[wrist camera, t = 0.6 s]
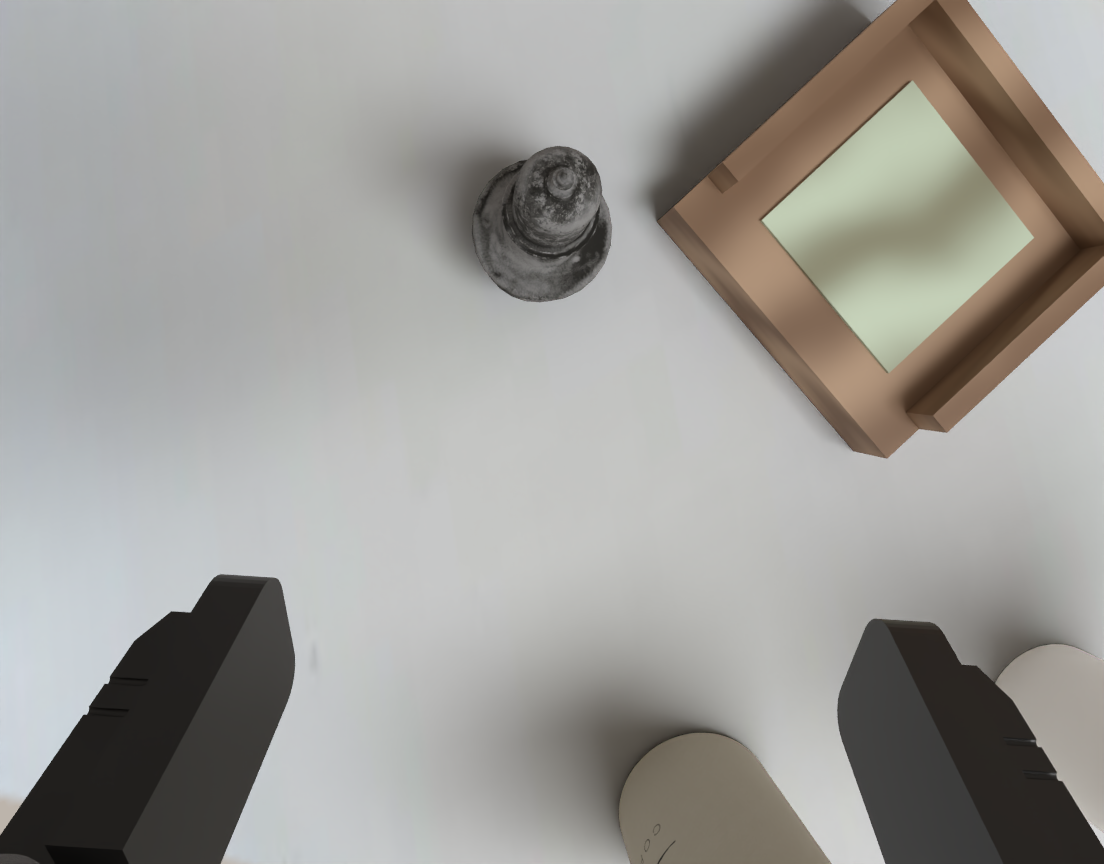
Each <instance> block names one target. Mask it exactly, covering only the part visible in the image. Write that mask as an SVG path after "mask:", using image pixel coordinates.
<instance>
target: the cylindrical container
mask: <svg viewBox="0 0 1104 864" xmlns="http://www.w3.org/2000/svg"><path fill="white" fill-rule="evenodd" d="M995 684H996V685H997V686H998V687H999V688H1000V689H1001V690H1002V691H1003V692H1005V693H1006V694H1007V695H1008V696H1009V697H1010V698H1011V699H1012V700H1013V702H1014V703H1015V705H1016V706H1017V708H1018V710H1019V711H1020V713H1021V715H1022V716H1023V718H1024V719H1025V721H1026V723H1027V724H1028V726H1029V728H1030V729H1031V731H1032V732H1033V734H1034V736H1035V737H1036V739H1037V740H1036V744H1037V746H1038V747H1042V749H1043V750H1044V752H1045V754H1046V755H1047V757H1048V758H1049V760H1050V762H1051V763H1052V765H1053V767H1054V768H1055V770H1056V771H1057V774H1056V776H1057V779H1058V780H1059V781H1063V783H1064V784H1065V786H1066V788H1067V789H1068V791H1069V793H1070V794H1071V796H1072V797H1073V799H1074V801H1075V802H1076V804H1077V806H1078V807H1079V809H1080V810H1081V812H1082V814H1083V815H1084V817H1085V819H1086V820H1087V821H1088V822H1090V823H1091V824H1092V825H1094V826H1095V827H1096V828H1098V829H1099V830H1100V831H1102V832H1103V833H1104V660H1102V659H1100V658H1097V657H1095V656H1093V655H1091V654H1089V653H1087V652H1085V651H1083V650H1080V649H1078V648H1076V647H1073V646H1069V645H1065V644H1050V645H1044V646H1039V647H1036V648H1034V649H1031V650H1028V651H1026V652H1025V653H1023V654H1022V655H1020V656H1018V657H1017V658H1015V659H1014V660H1013V661H1012V662H1011V663H1010V664H1009V665H1008V666H1007V667H1006V668H1005V669H1004V670H1003V672H1002V673H1001V674H1000V676H999V677H998V678H997V680H996V682H995Z"/></svg>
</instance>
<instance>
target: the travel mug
mask: <svg viewBox="0 0 1104 864" xmlns="http://www.w3.org/2000/svg"><path fill="white" fill-rule="evenodd" d="M619 823H620V828H621V833H622V836H623V840H624V843H625V846H626V850H627V853H628V856H629V860H630V863H631V864H831V862H830V861H829V860H828V858H827V857H826V855H825V854H824V852H823V851H822V850H821V848H820V847H819V845H818V844H817V843H816V841H815V840H814V838H813V837H812V835H811V834H810V833H809V831H808V830H807V828H806V827H805V825H804V824H803V823H802V821H801V820H800V818H799V817H798V815H797V814H796V813H795V811H794V810H793V808H792V807H791V805H790V804H789V803H788V801H787V800H786V798H785V797H784V796H783V794H782V793H781V791H780V790H779V788H778V787H777V786H776V784H775V783H774V781H773V780H772V778H771V777H770V776H769V774H768V773H767V771H766V770H765V768H764V767H763V766H762V764H761V763H760V761H759V760H758V759H757V758H756V756H755V755H754V754H753V753H752V752H751V751H750V750H748V749H747V748H746V747H745V746H743V745H742V744H740V743H739V742H737V741H735V740H733V739H730V738H728V737H725V736H722V735H718V734H713V733H690V734H685V735H681V736H677V737H674V738H672V739H669V740H667V741H665V742H663V743H661V744H659V745H658V746H656V747H655V748H653V749H652V750H651V751H649V752H648V753H647V754H646V755H645V756H644V757H643V758H642V759H641V760H640V761H639V762H638V763H637V764H636V766H635V767H634V768H633V770H632V771H631V773H630V775H629V776H628V778H627V780H626V782H625V785H624V788H623V790H622V794H621V798H620V804H619Z"/></svg>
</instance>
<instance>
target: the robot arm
mask: <svg viewBox="0 0 1104 864" xmlns="http://www.w3.org/2000/svg"><path fill="white" fill-rule="evenodd" d="M294 671H295V654H294V648H293V643H292V637H291V632H290V627H289V622H288V617H287V611H286V606H285V601H284V596H283V590H282V586H281V584H280V582H279V580H278V579H277V578H270V577H254V576H239V575H224V574H220V575H217V576H216V577H214V578H213V580H212V581H211V582H210V583H209V585H208V586H207V588H206V589H205V591H204V592H203V594H202V596H201V597H200V599H199V600H198V602H197V604H196V605H195V607H194V608H193V610H192V612H191V613H188V612H172V611H171V612H170V613H169V614H168V615H166V616H165V617H164V618H163V619H161V620H160V621H159V622H158V623H156V624H155V625H154V626H153V627H151V628H150V629H149V630H148V631H146V632H145V633H144V634H143V635H141V636H140V637H139V638H138V639H136V640H135V641H134V642H133V644H132V645H131V647H130V648H129V650H128V651H127V653H126V654H125V656H124V657H123V658H122V660H121V661H120V663H119V664H118V666H117V667H116V669H115V670H114V671H113V673H112V674H111V676H110V681H109V683H108V684H104V686H103V687H102V689H101V690H100V692H99V693H98V695H97V696H96V698H95V699H94V700H93V702H92V703H91V705H90V706H89V712H88V714H87V715H83V716H82V718H81V719H80V721H79V722H78V724H77V725H76V726H75V728H74V729H73V731H72V732H71V734H70V735H69V737H68V738H67V740H66V741H65V742H64V744H63V745H62V747H61V748H60V750H59V751H58V753H57V754H56V755H55V757H54V758H53V760H52V761H51V763H50V764H49V766H48V767H47V768H46V770H45V771H44V773H43V774H42V776H41V777H40V779H39V780H38V782H37V783H36V784H35V786H34V787H33V789H32V790H31V792H30V793H29V795H28V796H27V797H26V799H25V800H24V802H23V803H22V805H21V806H20V808H19V809H18V811H17V812H16V813H15V815H14V816H13V818H12V819H11V821H10V822H9V824H8V825H7V826H6V828H5V829H4V831H3V832H2V834H1V835H0V864H221V861H222V859H223V856H224V854H225V851H226V849H227V847H228V844H229V842H230V839H231V837H232V835H233V832H234V830H235V827H236V825H237V822H238V820H239V818H240V815H241V813H242V810H243V808H244V806H245V803H246V801H247V798H248V796H249V793H250V791H251V789H252V786H253V784H254V781H255V779H256V777H257V774H258V772H259V769H260V767H261V765H262V762H263V760H264V757H265V755H266V752H267V750H268V748H269V745H270V743H271V740H272V738H273V736H274V733H275V731H276V728H277V726H278V723H279V721H280V719H281V716H282V714H283V711H284V709H285V707H286V704H287V702H288V699H289V696H290V693H291V689H292V684H293V679H294ZM837 711H838V725H839V731H840V735H841V738H842V742H843V745H844V747H845V750H846V753H847V756H848V759H849V762H850V764H851V767H852V770H853V773H854V776H855V778H856V781H857V784H858V787H859V790H860V793H861V795H862V798H863V801H864V804H865V807H866V810H867V812H868V815H869V818H870V821H871V824H872V827H873V829H874V832H875V835H876V838H877V841H878V844H879V846H880V849H881V852H882V855H883V858H884V861H885V863H886V864H1104V848H1103V846H1102V844H1101V843H1100V841H1099V840H1098V838H1097V836H1096V835H1095V833H1094V832H1093V830H1092V828H1091V827H1090V825H1089V823H1088V822H1087V820H1086V819H1085V817H1084V815H1083V814H1082V812H1081V810H1080V809H1079V807H1078V806H1077V804H1076V802H1075V801H1074V799H1073V797H1072V796H1071V794H1070V793H1069V791H1068V789H1067V788H1066V786H1065V784H1064V783H1063V781H1059V780H1058V779H1057V776H1056V774H1057V771H1056V770H1055V768H1054V767H1053V765H1052V763H1051V762H1050V760H1049V758H1048V757H1047V755H1046V754H1045V752H1044V750H1043V749H1042V747H1038V746H1037V744H1036V740H1037V739H1036V737H1035V736H1034V734H1033V732H1032V731H1031V729H1030V728H1029V726H1028V724H1027V723H1026V721H1025V719H1024V718H1023V716H1022V715H1021V713H1020V711H1019V710H1018V708H1017V706H1016V705H1015V703H1014V702H1013V700H1012V699H1011V698H1010V697H1009V696H1008V695H1007V694H1006V693H1005V692H1003V691H1002V690H1001V689H1000V688H999V687H998V686H997V685H996V684H995V683H994V682H993V681H992V680H991V679H990V678H989V677H988V676H987V675H986V674H984V673H983V672H982V671H981V670H980V669H979V668H978V667H977V666H971V665H961V663H960V662H959V660H958V658H957V656H956V655H955V653H954V651H953V649H952V648H951V646H950V644H949V642H948V641H947V639H946V637H945V635H944V634H943V632H942V631H941V630H940V628H939V627H938V626H936V625H935V624H933V623H931V622H917V621H901V620H886V619H873V620H871V621H870V622H869V623H868V624H867V626H866V628H865V630H864V633H863V635H862V638H861V640H860V643H859V645H858V648H857V650H856V653H855V655H854V657H853V660H852V662H851V665H850V667H849V670H848V672H847V675H846V677H845V680H844V682H843V685H842V687H841V690H840V693H839V698H838V709H837Z"/></svg>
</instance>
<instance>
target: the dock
mask: <svg viewBox="0 0 1104 864" xmlns="http://www.w3.org/2000/svg"><path fill="white" fill-rule="evenodd" d="M657 222H658V223H659V225H660V226H661V227H662V228H663V229H664V230H665V232H666V233H667V234H668V235H669V236H670V237H671V239H672V240H673V241H674V242H675V243H676V244H677V246H678V247H679V248H680V249H681V250H682V251H683V253H684V254H685V255H686V256H687V257H688V258H689V260H690V261H691V262H692V263H693V264H694V265H695V267H696V268H697V269H698V270H699V271H700V272H701V274H702V275H703V276H704V277H705V278H706V279H707V281H708V282H709V283H710V284H711V285H712V286H713V288H714V289H715V290H716V291H717V292H718V293H719V295H720V296H721V297H722V298H723V299H724V300H725V302H726V303H727V304H728V305H729V306H730V307H731V309H732V310H733V311H734V312H735V313H736V314H737V316H738V317H739V318H740V319H741V320H742V321H743V323H744V324H745V325H746V326H747V327H748V328H749V330H750V331H751V332H752V333H753V334H754V335H755V337H756V338H757V339H758V340H759V341H760V342H761V344H762V345H763V346H764V347H765V348H766V349H767V351H768V352H769V353H770V354H771V355H772V356H773V358H774V359H775V360H776V361H777V362H778V363H779V365H780V366H781V367H782V368H783V369H784V370H785V372H786V373H787V374H788V375H789V376H790V377H791V379H792V380H793V381H794V382H795V383H796V384H797V386H798V387H799V388H800V389H801V390H802V391H803V393H804V394H805V395H806V396H807V397H808V399H809V400H810V401H811V402H812V403H813V404H814V406H815V407H816V408H817V409H818V410H819V411H820V413H821V414H822V415H823V416H824V417H825V418H826V420H827V421H828V422H829V423H830V424H831V425H832V427H833V428H834V429H835V430H836V431H837V432H838V434H839V435H840V436H841V437H842V438H843V439H844V441H845V442H846V443H847V444H848V445H849V446H850V448H851V449H852V450H853V451H855V452H860V453H864V454H869V455H873V456H878V457H883V458H888V457H889V456H890V455H891V454H893V453H894V452H895V451H896V450H897V449H898V448H899V447H900V446H901V445H902V444H903V443H904V442H905V441H906V440H908V439H909V438H910V437H911V436H912V435H913V434H914V433H915V432H916V431H917V430H918V429H924V430H931V431H939V432H946V433H947V432H948V431H949V430H950V429H951V428H952V427H953V426H955V425H956V424H957V423H958V422H959V421H960V420H961V419H962V418H963V417H964V416H965V415H966V414H967V413H968V412H970V411H971V410H972V409H973V408H974V407H975V406H976V405H977V404H978V403H979V402H980V401H981V400H982V399H983V398H984V397H986V396H987V395H988V394H989V393H990V392H991V391H992V390H993V389H994V388H995V387H996V386H997V385H998V384H999V383H1001V382H1002V381H1003V380H1004V379H1005V378H1006V377H1007V376H1008V375H1009V374H1010V373H1011V372H1012V371H1013V370H1014V369H1015V368H1017V367H1018V366H1019V365H1020V364H1021V363H1022V362H1023V361H1024V360H1025V359H1026V358H1027V357H1028V356H1029V355H1030V354H1032V353H1033V352H1034V351H1035V350H1036V349H1037V348H1038V347H1039V346H1040V345H1041V344H1042V343H1043V342H1044V341H1045V340H1046V339H1048V338H1049V337H1050V336H1051V335H1052V334H1053V333H1054V332H1055V331H1056V330H1057V329H1058V328H1059V327H1060V326H1061V325H1063V324H1064V323H1065V322H1066V321H1067V320H1068V319H1069V318H1070V317H1071V316H1072V315H1073V314H1074V313H1075V312H1076V311H1077V310H1079V309H1080V308H1081V307H1082V306H1083V305H1084V304H1085V303H1086V302H1087V301H1088V300H1089V299H1090V298H1091V297H1092V296H1094V295H1095V294H1096V293H1097V292H1098V291H1099V290H1100V289H1101V288H1102V287H1103V286H1104V183H1103V182H1102V180H1101V179H1100V178H1099V176H1098V175H1097V174H1096V172H1095V171H1094V170H1093V168H1092V167H1091V166H1090V164H1089V163H1088V162H1087V160H1086V159H1085V158H1084V156H1083V155H1082V154H1081V152H1080V151H1079V150H1078V148H1077V147H1076V146H1075V144H1074V143H1073V142H1072V140H1071V139H1070V138H1069V136H1068V135H1067V133H1066V132H1065V131H1064V129H1063V128H1062V127H1061V125H1060V124H1059V123H1058V121H1057V120H1056V119H1055V117H1054V116H1053V115H1052V113H1051V112H1050V111H1049V109H1048V108H1047V107H1046V105H1045V104H1044V103H1043V101H1042V100H1041V99H1040V97H1039V96H1038V95H1037V93H1036V92H1035V91H1034V89H1033V88H1032V87H1031V85H1030V84H1029V83H1028V81H1027V80H1026V79H1025V77H1024V76H1023V75H1022V73H1021V72H1020V71H1019V69H1018V68H1017V67H1016V65H1015V64H1014V63H1013V61H1012V60H1011V58H1010V57H1009V56H1008V54H1007V53H1006V52H1005V50H1004V49H1003V48H1002V46H1001V45H1000V44H999V42H998V41H997V40H996V38H995V37H994V36H993V34H992V33H991V32H990V30H989V29H988V28H987V26H986V25H985V24H984V22H983V21H982V20H981V18H980V17H979V16H978V14H977V13H976V12H975V10H974V9H973V8H972V6H971V5H970V4H969V2H968V1H967V0H896V1H895V2H894V3H893V4H892V5H891V6H890V7H889V8H887V9H886V10H885V11H884V12H883V13H882V14H881V15H880V16H878V17H877V18H876V19H875V20H874V21H873V22H872V23H871V24H870V25H869V26H868V27H866V28H865V29H864V30H863V31H862V32H861V33H860V34H859V35H858V36H857V37H856V38H855V39H853V40H852V41H851V42H850V43H849V44H848V45H847V46H846V47H845V48H844V49H843V50H842V51H841V52H839V53H838V54H837V55H836V56H835V57H834V58H833V59H832V60H831V61H830V62H829V63H828V64H826V65H825V66H824V67H823V68H822V69H821V70H820V71H819V72H818V73H817V74H816V75H815V76H814V77H812V78H811V79H810V80H809V81H808V82H807V83H806V84H805V85H804V86H803V87H802V88H801V89H800V90H798V91H797V92H796V93H795V94H794V95H793V96H792V97H791V98H790V99H789V100H788V101H787V102H785V103H784V104H783V105H782V106H781V107H780V108H779V109H778V110H777V111H776V112H775V113H774V114H773V115H771V116H770V117H769V118H768V119H767V120H766V121H765V122H764V123H763V124H762V125H761V126H760V127H758V128H757V129H756V130H755V131H754V132H753V133H752V134H751V135H750V136H749V137H748V138H747V139H746V140H744V141H743V142H742V143H741V144H740V145H739V146H738V147H737V148H736V149H735V150H734V151H733V152H732V153H730V154H729V155H728V156H727V157H726V158H725V159H724V160H723V161H722V162H721V163H720V164H719V165H717V166H716V167H715V168H714V169H713V170H712V171H711V172H710V173H709V174H708V175H707V176H706V177H705V178H703V179H702V180H701V181H700V182H699V183H698V184H697V185H696V186H695V187H694V188H693V189H692V190H690V191H689V192H688V193H687V194H686V195H685V196H684V197H683V198H682V199H681V200H680V201H679V202H678V203H676V204H675V205H674V206H673V207H672V208H671V209H670V210H669V211H668V212H667V213H666V214H665V215H663V216H662V217H661V218H660V219H659V220H658V221H657Z"/></svg>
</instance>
